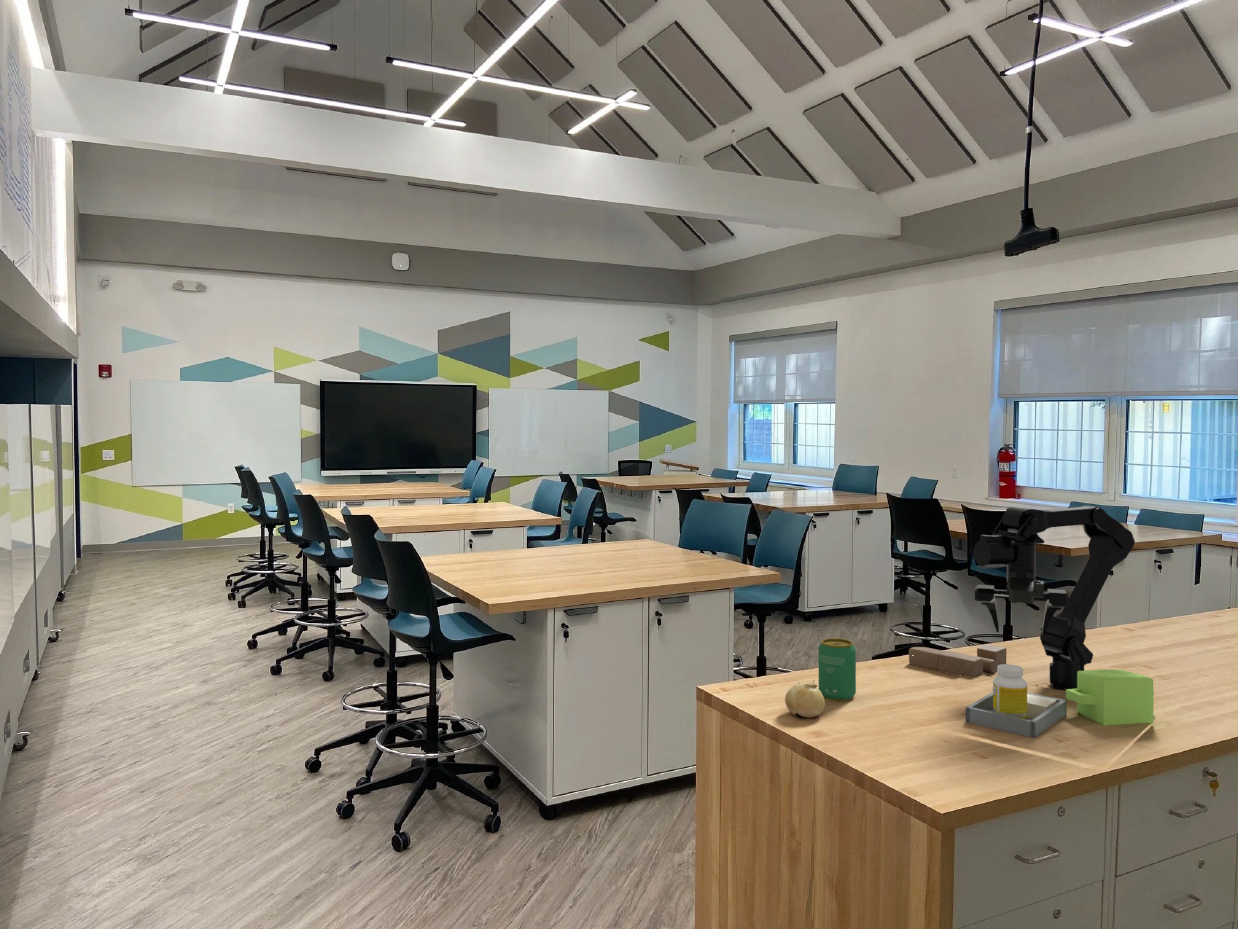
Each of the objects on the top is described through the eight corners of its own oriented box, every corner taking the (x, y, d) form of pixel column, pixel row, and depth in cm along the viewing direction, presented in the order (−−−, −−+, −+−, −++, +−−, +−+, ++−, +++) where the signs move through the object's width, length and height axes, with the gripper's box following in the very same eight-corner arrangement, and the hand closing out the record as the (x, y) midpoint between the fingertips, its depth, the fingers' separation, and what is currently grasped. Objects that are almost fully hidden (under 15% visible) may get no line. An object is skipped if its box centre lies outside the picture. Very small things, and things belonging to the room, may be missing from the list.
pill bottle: (1034, 725, 168) (1034, 669, 168) (1010, 729, 166) (1010, 673, 165) (1009, 715, 174) (1009, 661, 173) (985, 719, 172) (986, 665, 171)
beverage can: (862, 695, 190) (862, 641, 189) (844, 704, 184) (844, 648, 183) (830, 688, 195) (829, 636, 195) (811, 696, 189) (811, 642, 189)
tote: (1001, 703, 183) (1001, 687, 183) (1066, 717, 174) (1066, 700, 174) (965, 724, 170) (965, 707, 170) (1034, 741, 161) (1034, 722, 161)
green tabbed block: (1138, 710, 179) (1138, 665, 179) (1174, 724, 169) (1174, 677, 169) (1058, 713, 177) (1058, 667, 177) (1090, 728, 167) (1090, 679, 167)
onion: (802, 724, 172) (801, 689, 172) (777, 712, 179) (777, 679, 179) (832, 717, 176) (832, 683, 176) (807, 706, 183) (807, 673, 183)
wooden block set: (977, 658, 200) (907, 644, 214) (977, 682, 200) (907, 666, 214) (1010, 645, 211) (942, 632, 225) (1010, 667, 211) (942, 653, 225)
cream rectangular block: (1006, 703, 181) (1006, 689, 181) (1056, 714, 174) (1056, 699, 174) (994, 710, 177) (994, 696, 177) (1046, 721, 170) (1046, 706, 170)
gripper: (974, 567, 186) (973, 638, 187) (1071, 572, 179) (1070, 646, 179) (975, 559, 196) (975, 627, 197) (1067, 564, 189) (1066, 634, 189)
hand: (1020, 633), depth 190 cm, fingers open, 9 cm apart
